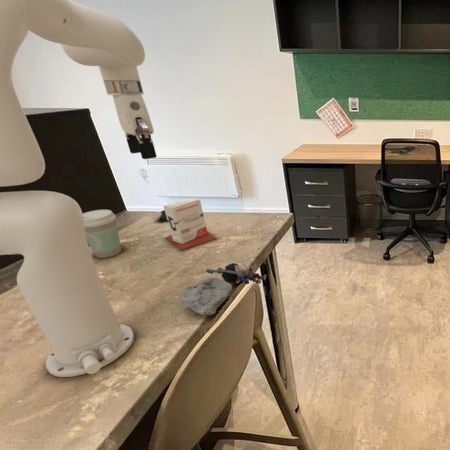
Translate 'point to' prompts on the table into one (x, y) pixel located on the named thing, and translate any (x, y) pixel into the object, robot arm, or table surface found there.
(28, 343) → the table surface
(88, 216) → the coffee cup
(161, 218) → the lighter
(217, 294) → the stone
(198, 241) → the side mat
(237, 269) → the toy
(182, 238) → the ink box
